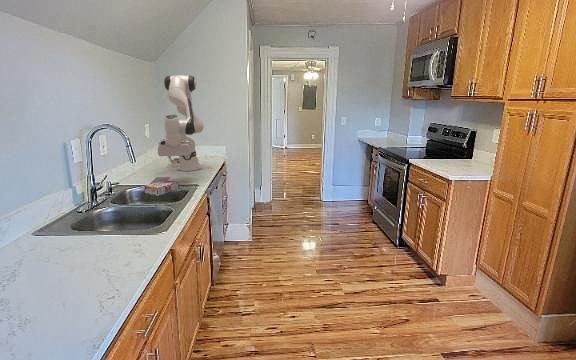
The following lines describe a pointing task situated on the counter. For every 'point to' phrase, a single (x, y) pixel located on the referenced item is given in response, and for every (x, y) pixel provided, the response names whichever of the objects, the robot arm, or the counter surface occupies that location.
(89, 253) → the counter surface
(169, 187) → the candy bar box
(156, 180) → the mat
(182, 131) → the robot arm
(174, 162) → the wooden handled scraper
